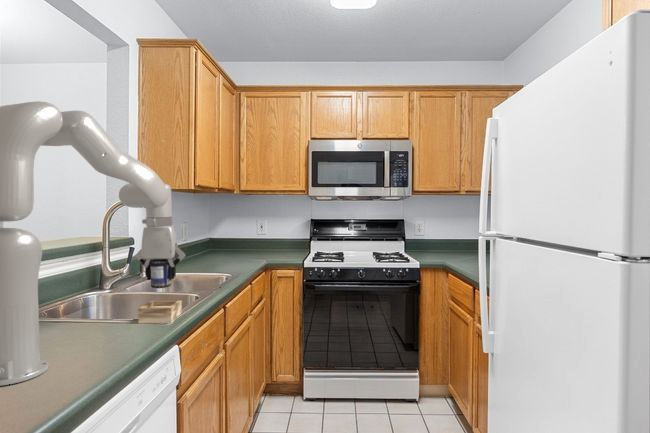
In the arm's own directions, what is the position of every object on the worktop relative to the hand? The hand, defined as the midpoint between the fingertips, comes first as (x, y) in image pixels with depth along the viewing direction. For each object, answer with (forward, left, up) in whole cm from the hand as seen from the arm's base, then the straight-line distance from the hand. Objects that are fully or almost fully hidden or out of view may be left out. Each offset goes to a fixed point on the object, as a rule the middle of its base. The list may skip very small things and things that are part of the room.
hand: (161, 278), depth 131 cm
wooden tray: (0, 0, -13) cm, 13 cm away
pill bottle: (0, 0, -3) cm, 3 cm away
